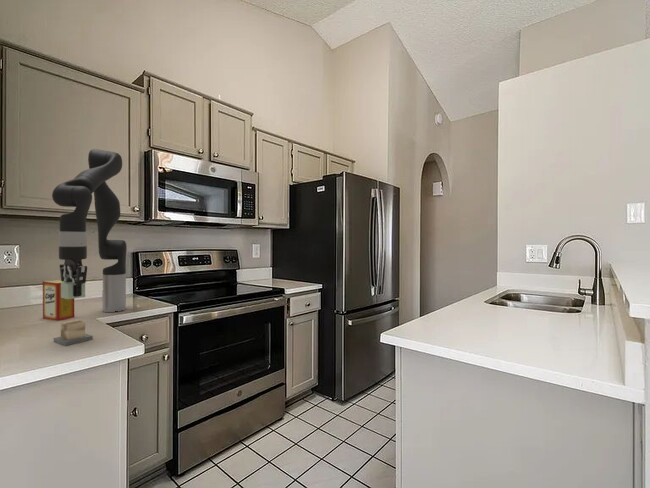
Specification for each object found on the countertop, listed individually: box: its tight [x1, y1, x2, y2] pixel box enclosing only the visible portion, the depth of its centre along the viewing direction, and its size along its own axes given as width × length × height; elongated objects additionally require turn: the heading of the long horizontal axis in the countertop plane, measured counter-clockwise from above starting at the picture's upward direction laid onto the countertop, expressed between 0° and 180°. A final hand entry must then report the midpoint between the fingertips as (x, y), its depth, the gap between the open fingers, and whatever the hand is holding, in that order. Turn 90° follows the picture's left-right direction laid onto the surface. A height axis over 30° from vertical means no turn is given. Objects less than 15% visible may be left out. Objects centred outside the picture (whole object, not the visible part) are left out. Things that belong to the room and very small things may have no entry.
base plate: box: [53, 333, 94, 347], centre depth 111 cm, size 8×8×1 cm
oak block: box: [60, 319, 86, 340], centre depth 111 cm, size 5×5×5 cm
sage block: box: [61, 282, 86, 300], centre depth 111 cm, size 5×5×5 cm
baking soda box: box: [42, 279, 75, 322], centre depth 140 cm, size 10×6×16 cm
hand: (73, 295), depth 111 cm, fingers closed on sage block, 5 cm apart
